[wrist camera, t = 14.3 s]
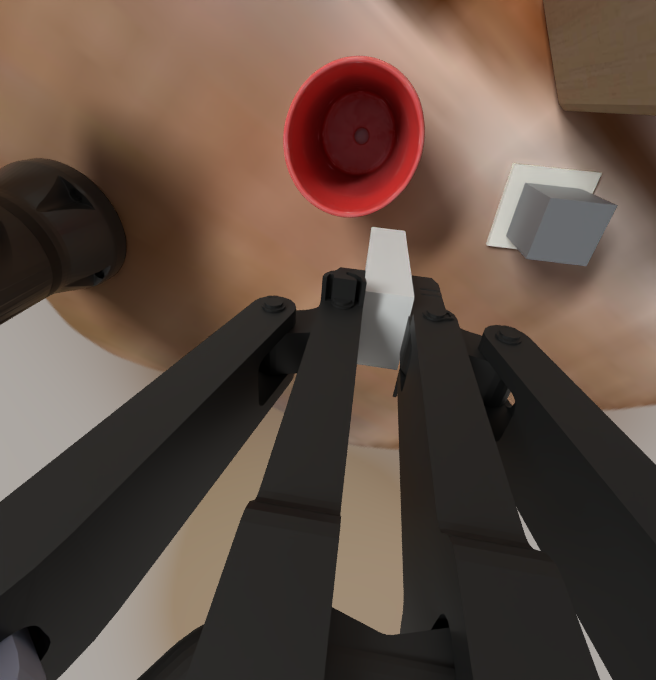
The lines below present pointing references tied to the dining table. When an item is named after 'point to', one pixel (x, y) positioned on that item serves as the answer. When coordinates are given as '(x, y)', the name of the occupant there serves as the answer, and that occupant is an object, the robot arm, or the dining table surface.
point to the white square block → (536, 176)
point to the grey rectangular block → (559, 223)
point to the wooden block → (604, 54)
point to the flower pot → (354, 136)
